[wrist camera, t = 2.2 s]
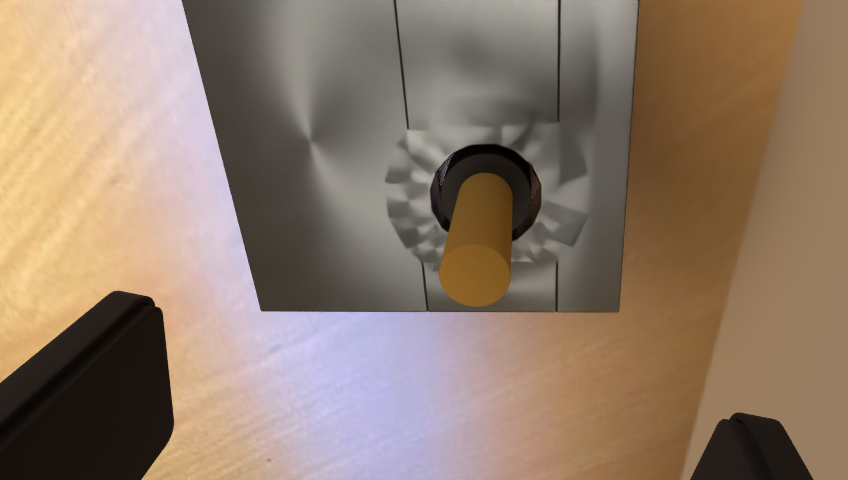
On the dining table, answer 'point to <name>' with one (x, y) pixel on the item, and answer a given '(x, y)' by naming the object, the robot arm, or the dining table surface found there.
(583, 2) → the drain plate
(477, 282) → the plug
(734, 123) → the dining table surface
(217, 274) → the dining table surface
